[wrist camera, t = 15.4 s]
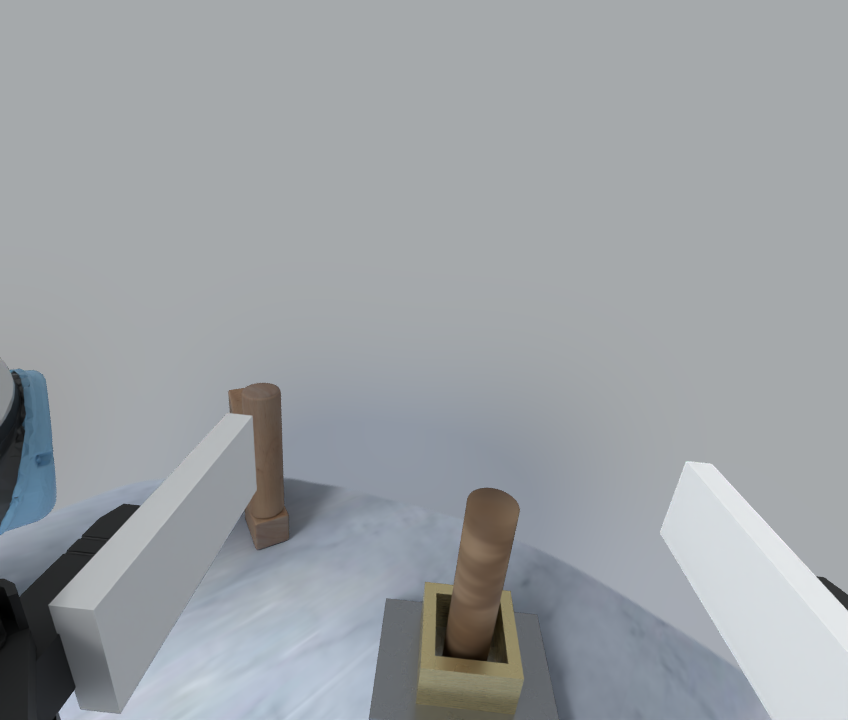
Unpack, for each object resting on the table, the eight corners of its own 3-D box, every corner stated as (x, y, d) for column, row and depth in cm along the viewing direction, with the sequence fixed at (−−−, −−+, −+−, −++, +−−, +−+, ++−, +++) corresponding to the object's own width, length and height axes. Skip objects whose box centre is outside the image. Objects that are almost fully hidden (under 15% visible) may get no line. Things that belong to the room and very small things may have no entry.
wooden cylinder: (441, 681, 35) (468, 520, 29) (442, 637, 39) (466, 485, 33) (487, 686, 35) (523, 526, 29) (484, 642, 39) (515, 490, 33)
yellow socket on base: (367, 735, 33) (371, 681, 31) (385, 613, 43) (389, 565, 40) (557, 756, 33) (575, 704, 31) (533, 629, 42) (545, 582, 40)
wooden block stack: (265, 484, 58) (259, 354, 51) (290, 540, 50) (286, 394, 43) (235, 492, 56) (224, 358, 49) (255, 552, 48) (245, 401, 41)
